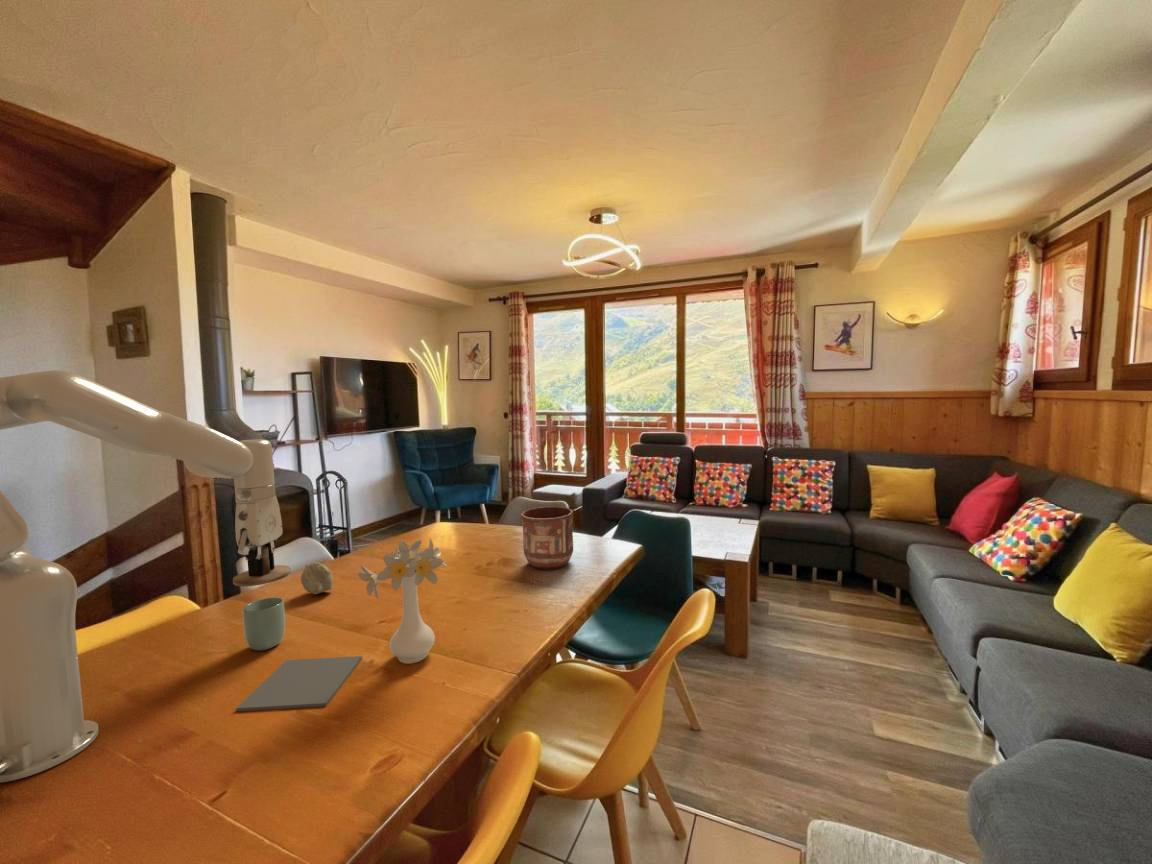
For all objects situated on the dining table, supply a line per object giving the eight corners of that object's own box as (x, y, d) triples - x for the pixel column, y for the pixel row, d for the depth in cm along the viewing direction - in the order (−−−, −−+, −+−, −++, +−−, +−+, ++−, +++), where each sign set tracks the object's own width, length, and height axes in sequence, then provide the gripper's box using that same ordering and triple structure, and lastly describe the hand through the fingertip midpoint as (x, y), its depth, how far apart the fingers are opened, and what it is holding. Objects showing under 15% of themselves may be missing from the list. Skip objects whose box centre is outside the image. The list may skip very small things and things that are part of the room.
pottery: (518, 559, 164) (516, 508, 163) (566, 553, 169) (564, 504, 168) (528, 577, 147) (526, 521, 146) (581, 569, 152) (579, 515, 151)
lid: (273, 584, 102) (270, 554, 102) (221, 587, 102) (218, 557, 101) (299, 567, 113) (297, 539, 113) (253, 569, 112) (250, 542, 112)
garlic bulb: (332, 597, 135) (330, 564, 134) (298, 603, 132) (296, 568, 131) (336, 586, 144) (334, 554, 143) (304, 591, 141) (302, 558, 140)
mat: (326, 706, 85) (326, 702, 85) (236, 711, 85) (235, 708, 85) (362, 658, 101) (361, 656, 101) (286, 662, 101) (286, 660, 100)
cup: (266, 656, 103) (263, 612, 103) (237, 653, 105) (233, 610, 104) (294, 638, 111) (291, 598, 111) (266, 636, 113) (263, 596, 112)
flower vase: (354, 672, 96) (347, 553, 95) (424, 633, 112) (419, 530, 111) (396, 690, 90) (389, 562, 88) (464, 646, 105) (459, 537, 104)
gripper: (249, 500, 98) (256, 585, 99) (292, 486, 114) (298, 560, 116) (212, 502, 98) (219, 587, 99) (261, 487, 114) (266, 561, 115)
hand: (261, 572), depth 107 cm, fingers closed on lid, 3 cm apart
